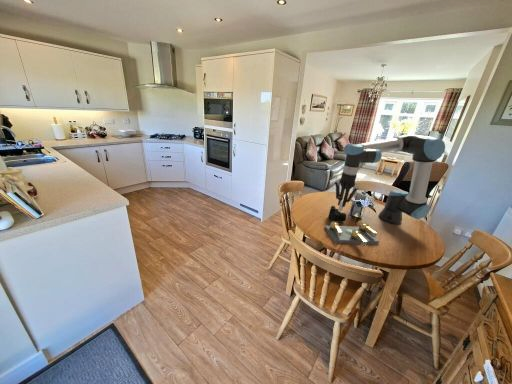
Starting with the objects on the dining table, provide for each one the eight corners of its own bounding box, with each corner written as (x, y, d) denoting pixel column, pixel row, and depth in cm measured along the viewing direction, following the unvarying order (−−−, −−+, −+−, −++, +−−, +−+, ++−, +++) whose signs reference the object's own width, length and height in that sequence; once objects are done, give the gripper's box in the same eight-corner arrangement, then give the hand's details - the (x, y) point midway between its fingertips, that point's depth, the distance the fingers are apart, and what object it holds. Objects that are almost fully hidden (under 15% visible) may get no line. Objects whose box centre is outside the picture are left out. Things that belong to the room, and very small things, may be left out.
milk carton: (349, 212, 165) (356, 188, 157) (358, 214, 163) (365, 190, 155) (350, 216, 158) (357, 192, 151) (359, 218, 156) (367, 193, 149)
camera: (347, 227, 142) (350, 215, 138) (331, 225, 143) (334, 213, 139) (341, 217, 155) (344, 205, 151) (327, 216, 156) (329, 204, 152)
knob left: (349, 234, 130) (350, 229, 129) (356, 235, 130) (358, 229, 129) (359, 247, 119) (361, 241, 117) (367, 247, 119) (369, 241, 117)
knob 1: (328, 226, 138) (330, 220, 136) (336, 226, 138) (337, 221, 136) (334, 237, 126) (336, 231, 125) (342, 237, 126) (344, 232, 125)
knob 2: (357, 227, 139) (358, 222, 137) (363, 227, 140) (365, 222, 138) (370, 238, 128) (372, 233, 126) (377, 238, 129) (379, 232, 127)
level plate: (364, 229, 142) (365, 225, 141) (378, 243, 127) (379, 239, 126) (324, 228, 140) (325, 224, 139) (334, 242, 125) (335, 238, 124)
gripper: (335, 171, 116) (327, 208, 125) (359, 177, 108) (348, 217, 117) (340, 169, 121) (332, 205, 131) (364, 175, 113) (353, 213, 122)
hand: (340, 210), depth 124 cm, fingers closed
